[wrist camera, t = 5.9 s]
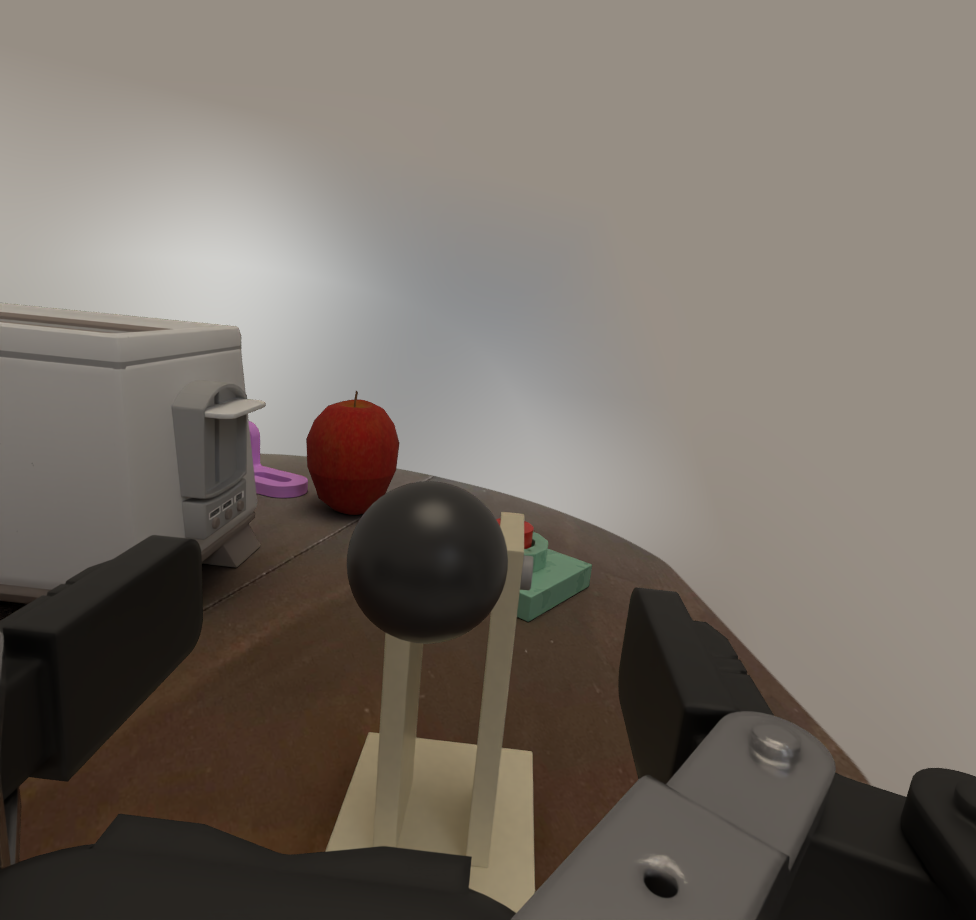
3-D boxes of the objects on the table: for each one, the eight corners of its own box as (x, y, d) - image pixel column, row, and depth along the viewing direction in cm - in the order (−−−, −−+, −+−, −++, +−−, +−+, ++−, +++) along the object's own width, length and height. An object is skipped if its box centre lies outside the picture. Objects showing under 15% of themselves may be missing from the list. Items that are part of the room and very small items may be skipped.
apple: (318, 493, 78) (321, 380, 74) (400, 500, 78) (407, 388, 75) (293, 521, 68) (295, 392, 64) (387, 529, 68) (394, 401, 65)
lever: (499, 663, 12) (518, 479, 13) (315, 642, 12) (342, 461, 13) (498, 612, 27) (506, 528, 28) (414, 603, 27) (425, 520, 28)
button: (540, 544, 58) (542, 526, 57) (514, 556, 55) (516, 536, 54) (505, 532, 60) (507, 514, 60) (478, 542, 57) (480, 524, 57)
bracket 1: (204, 479, 79) (203, 424, 77) (238, 470, 84) (238, 418, 82) (285, 500, 74) (286, 442, 72) (316, 490, 79) (318, 435, 77)
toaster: (189, 658, 42) (182, 344, 37) (-304, 600, 43) (-375, 288, 38) (293, 549, 61) (297, 331, 56) (-53, 511, 62) (-79, 293, 57)
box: (589, 586, 59) (595, 546, 58) (528, 622, 51) (533, 576, 50) (488, 547, 66) (491, 511, 65) (420, 573, 58) (423, 532, 57)
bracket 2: (532, 977, 24) (586, 597, 20) (298, 947, 24) (308, 566, 21) (529, 771, 35) (565, 496, 31) (367, 751, 35) (382, 477, 31)
